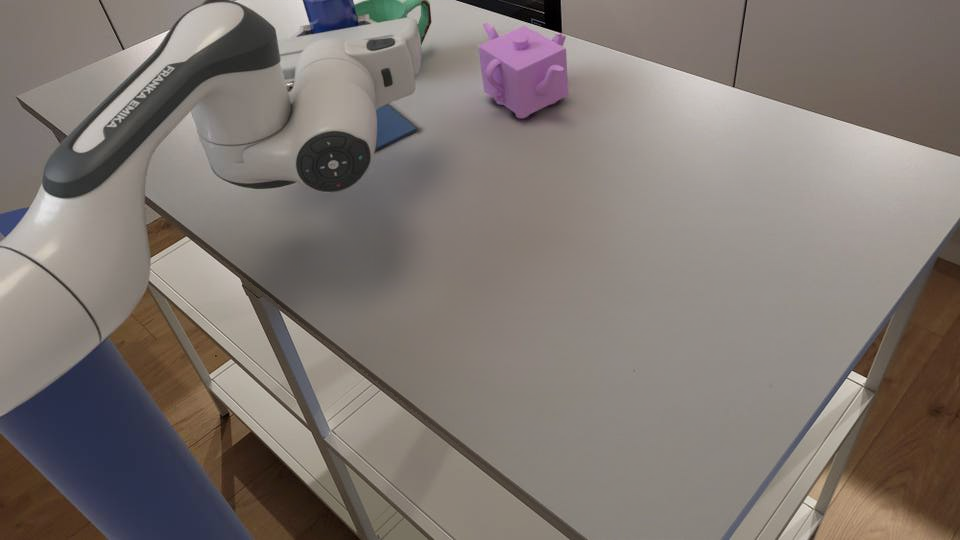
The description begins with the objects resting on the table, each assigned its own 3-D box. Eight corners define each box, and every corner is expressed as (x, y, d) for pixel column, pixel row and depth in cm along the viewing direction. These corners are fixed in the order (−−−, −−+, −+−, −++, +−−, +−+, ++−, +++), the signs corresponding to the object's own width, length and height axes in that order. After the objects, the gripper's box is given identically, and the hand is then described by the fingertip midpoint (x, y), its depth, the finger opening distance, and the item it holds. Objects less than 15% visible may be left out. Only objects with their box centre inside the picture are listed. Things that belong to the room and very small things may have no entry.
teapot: (607, 106, 104) (607, 40, 97) (530, 145, 99) (524, 79, 93) (529, 59, 115) (524, -3, 108) (457, 92, 111) (447, 30, 104)
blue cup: (338, 89, 95) (313, 5, 87) (318, 72, 99) (293, -9, 91) (378, 71, 97) (357, -12, 89) (357, 55, 100) (336, -26, 93)
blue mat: (354, 161, 102) (353, 158, 102) (322, 130, 108) (321, 128, 108) (416, 130, 105) (416, 128, 105) (382, 102, 112) (381, 100, 111)
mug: (379, 98, 112) (363, 36, 105) (343, 76, 118) (327, 16, 111) (455, 58, 118) (445, -4, 111) (417, 39, 124) (406, -20, 117)
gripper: (252, 121, 86) (262, 62, 96) (428, 90, 86) (420, 34, 96) (233, 72, 82) (245, 16, 92) (419, 39, 82) (411, -14, 92)
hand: (336, 25), depth 94 cm, fingers closed on blue cup, 6 cm apart
